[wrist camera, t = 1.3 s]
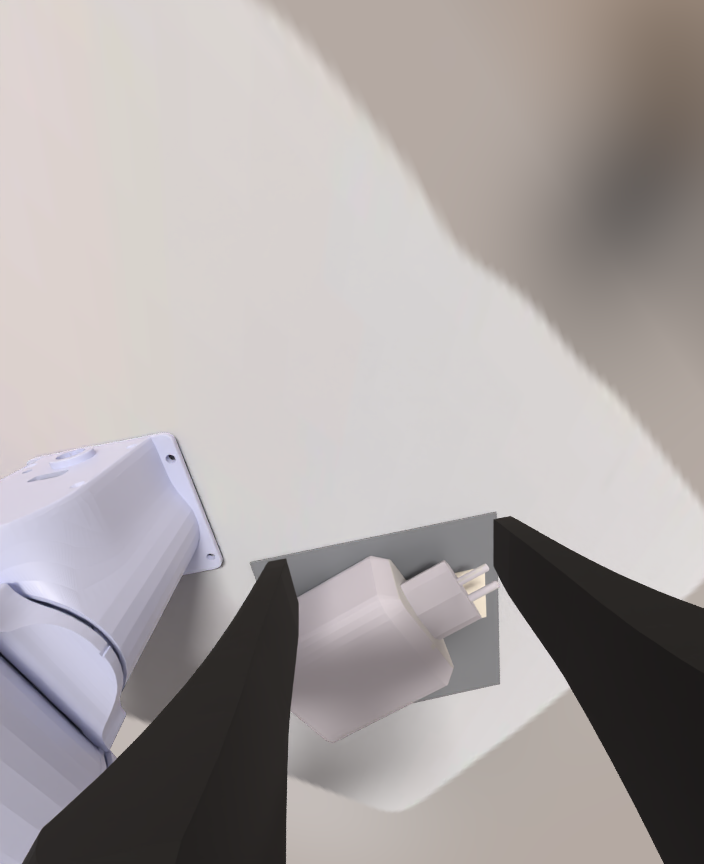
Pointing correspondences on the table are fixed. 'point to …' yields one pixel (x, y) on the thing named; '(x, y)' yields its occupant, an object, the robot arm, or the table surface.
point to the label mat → (413, 554)
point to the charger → (376, 642)
